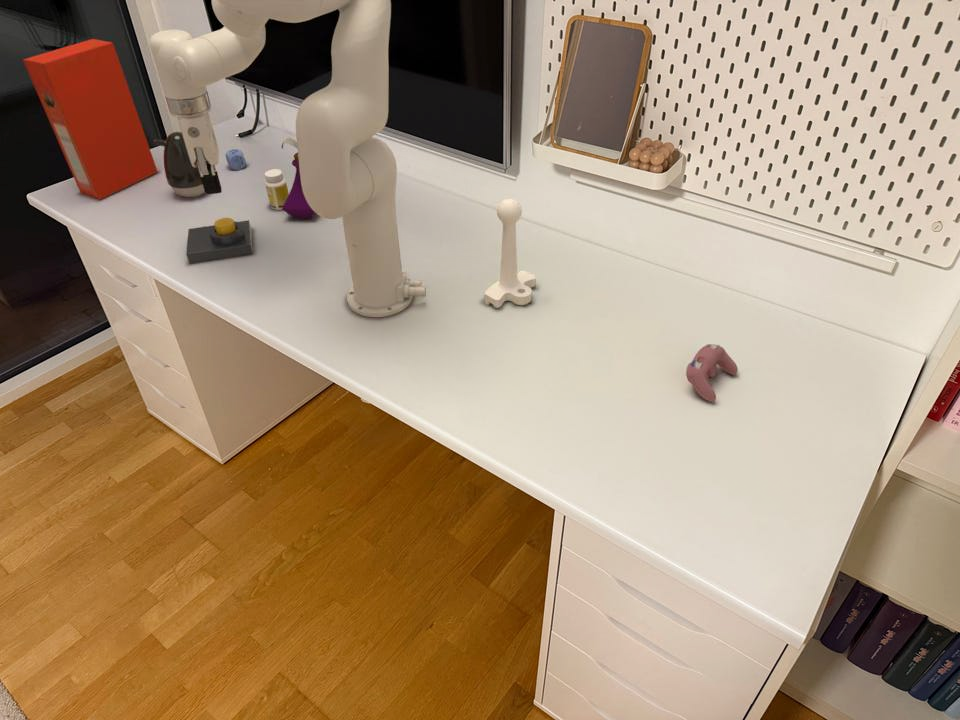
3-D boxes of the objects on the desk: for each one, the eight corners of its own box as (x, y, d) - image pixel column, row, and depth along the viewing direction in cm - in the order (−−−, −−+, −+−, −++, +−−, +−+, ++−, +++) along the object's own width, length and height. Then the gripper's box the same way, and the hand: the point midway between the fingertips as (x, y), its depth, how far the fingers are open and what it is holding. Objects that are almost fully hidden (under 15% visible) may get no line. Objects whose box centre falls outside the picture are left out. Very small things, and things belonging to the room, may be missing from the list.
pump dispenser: (169, 188, 173) (149, 129, 163) (211, 179, 176) (194, 121, 167) (173, 205, 166) (153, 144, 156) (218, 196, 169) (200, 136, 159)
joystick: (519, 277, 139) (521, 185, 126) (548, 292, 135) (552, 199, 122) (480, 300, 134) (478, 206, 121) (508, 317, 129) (509, 221, 116)
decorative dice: (231, 171, 180) (227, 156, 178) (228, 165, 183) (224, 151, 180) (247, 167, 182) (243, 153, 179) (243, 162, 184) (239, 147, 182)
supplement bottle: (293, 201, 167) (286, 168, 161) (287, 210, 163) (280, 177, 158) (274, 200, 167) (266, 168, 162) (267, 210, 163) (259, 176, 158)
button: (235, 224, 150) (233, 216, 149) (236, 233, 147) (233, 225, 146) (216, 227, 149) (214, 219, 148) (216, 236, 146) (214, 228, 145)
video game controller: (715, 371, 119) (705, 335, 116) (740, 372, 115) (730, 335, 113) (689, 402, 113) (677, 366, 110) (715, 404, 110) (703, 366, 107)
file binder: (79, 193, 172) (22, 58, 152) (137, 166, 183) (91, 38, 163) (100, 200, 169) (44, 64, 148) (158, 173, 180) (113, 42, 160)
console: (251, 229, 156) (246, 211, 153) (252, 254, 148) (248, 236, 145) (191, 238, 154) (185, 220, 151) (189, 264, 146) (183, 245, 143)
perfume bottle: (325, 207, 164) (311, 133, 152) (316, 222, 158) (301, 147, 147) (294, 206, 165) (278, 132, 153) (284, 221, 159) (267, 146, 147)
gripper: (208, 115, 126) (232, 206, 138) (210, 87, 137) (232, 174, 149) (165, 119, 124) (193, 211, 136) (170, 91, 135) (195, 178, 147)
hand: (213, 191), depth 142 cm, fingers closed
